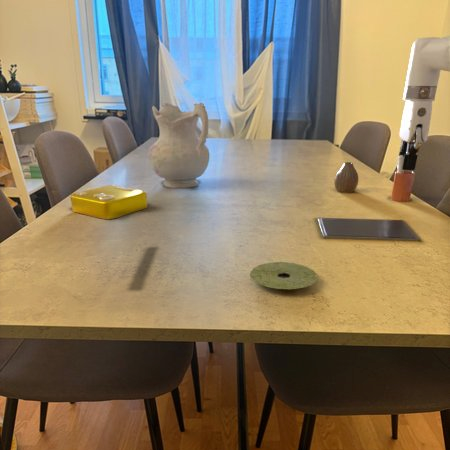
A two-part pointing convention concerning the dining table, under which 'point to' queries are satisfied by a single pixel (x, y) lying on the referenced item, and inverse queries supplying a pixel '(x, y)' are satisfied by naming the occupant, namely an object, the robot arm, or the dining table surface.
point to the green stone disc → (283, 275)
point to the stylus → (400, 164)
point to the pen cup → (402, 186)
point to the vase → (346, 178)
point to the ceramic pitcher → (180, 146)
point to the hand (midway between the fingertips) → (405, 167)
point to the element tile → (109, 201)
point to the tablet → (366, 229)
